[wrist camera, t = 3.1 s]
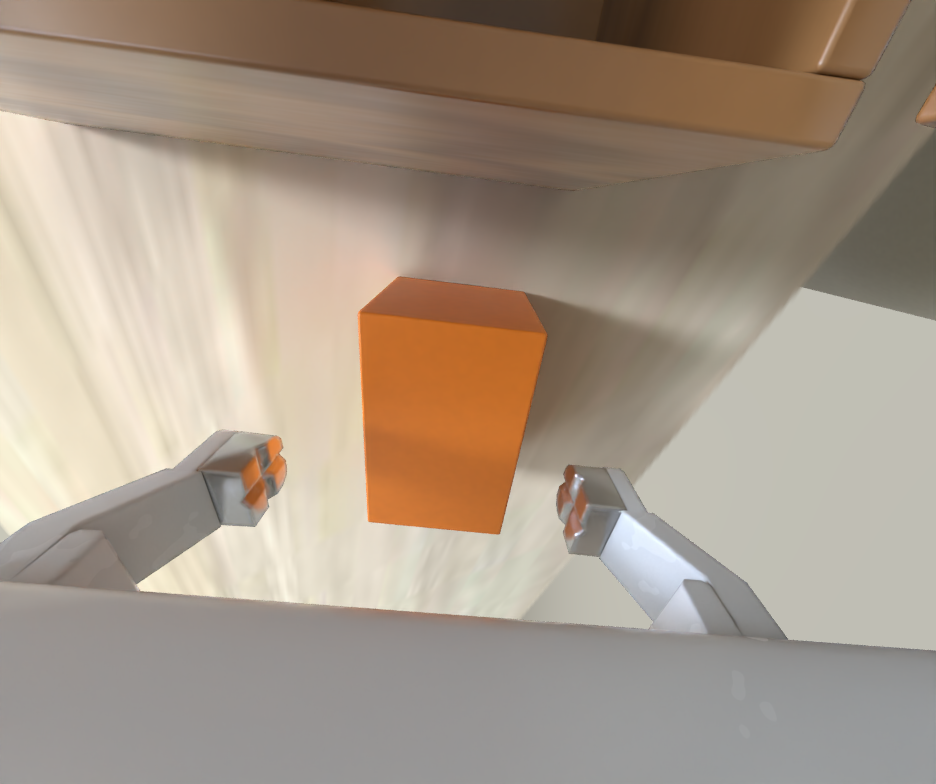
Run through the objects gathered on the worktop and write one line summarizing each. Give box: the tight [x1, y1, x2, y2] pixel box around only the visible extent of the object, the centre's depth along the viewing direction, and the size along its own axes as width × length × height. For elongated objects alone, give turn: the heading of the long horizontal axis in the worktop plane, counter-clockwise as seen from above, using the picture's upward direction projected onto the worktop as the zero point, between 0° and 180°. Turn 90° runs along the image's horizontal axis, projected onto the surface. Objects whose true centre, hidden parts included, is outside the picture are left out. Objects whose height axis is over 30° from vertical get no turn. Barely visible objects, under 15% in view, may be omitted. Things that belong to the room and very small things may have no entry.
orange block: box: [358, 277, 548, 534], centre depth 13 cm, size 5×8×5 cm, turn 173°
